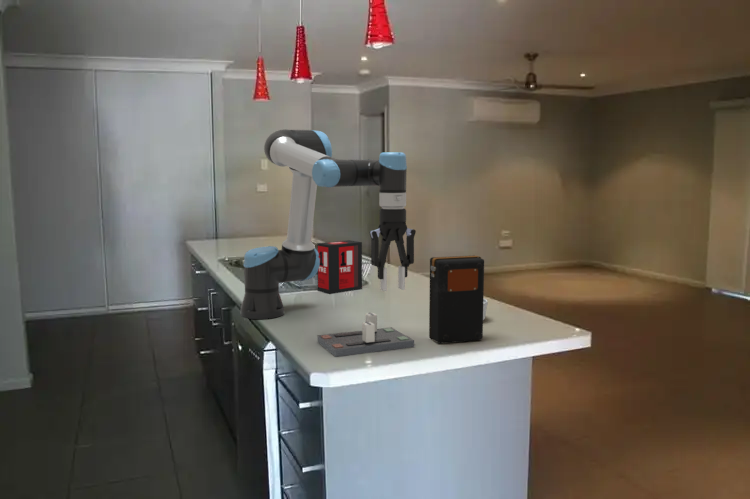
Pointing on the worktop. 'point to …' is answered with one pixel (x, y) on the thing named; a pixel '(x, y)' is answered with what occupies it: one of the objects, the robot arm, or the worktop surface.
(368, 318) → the block
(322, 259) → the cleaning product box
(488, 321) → the worktop surface
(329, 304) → the worktop surface
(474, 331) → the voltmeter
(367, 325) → the block
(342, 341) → the breaker panel
